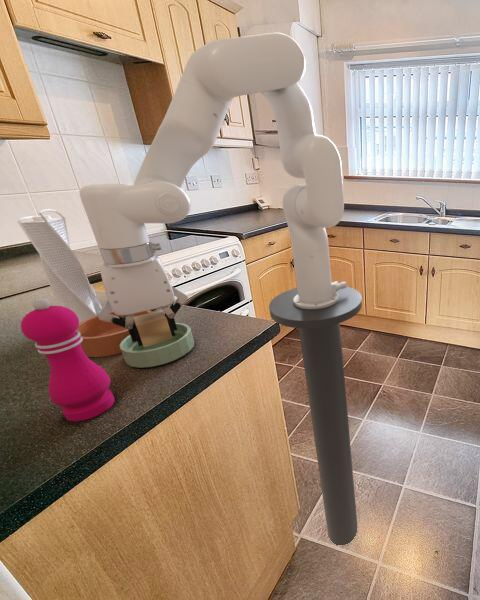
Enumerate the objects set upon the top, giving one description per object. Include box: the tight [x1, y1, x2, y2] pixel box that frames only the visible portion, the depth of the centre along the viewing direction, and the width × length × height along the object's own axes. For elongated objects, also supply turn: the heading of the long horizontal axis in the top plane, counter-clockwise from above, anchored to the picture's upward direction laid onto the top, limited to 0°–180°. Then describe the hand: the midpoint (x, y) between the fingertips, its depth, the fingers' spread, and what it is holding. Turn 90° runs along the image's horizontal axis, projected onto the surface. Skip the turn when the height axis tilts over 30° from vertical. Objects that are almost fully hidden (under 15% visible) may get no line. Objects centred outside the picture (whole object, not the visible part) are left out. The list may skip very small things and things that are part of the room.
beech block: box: [134, 309, 173, 347], centre depth 69 cm, size 5×5×5 cm
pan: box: [76, 310, 152, 358], centre depth 76 cm, size 14×14×4 cm
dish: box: [120, 322, 195, 368], centre depth 71 cm, size 12×12×4 cm
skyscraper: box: [17, 208, 103, 323], centre depth 79 cm, size 8×8×28 cm
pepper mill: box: [20, 297, 116, 423], centre depth 52 cm, size 7×7×20 cm
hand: (156, 337), depth 70 cm, fingers closed on beech block, 5 cm apart
